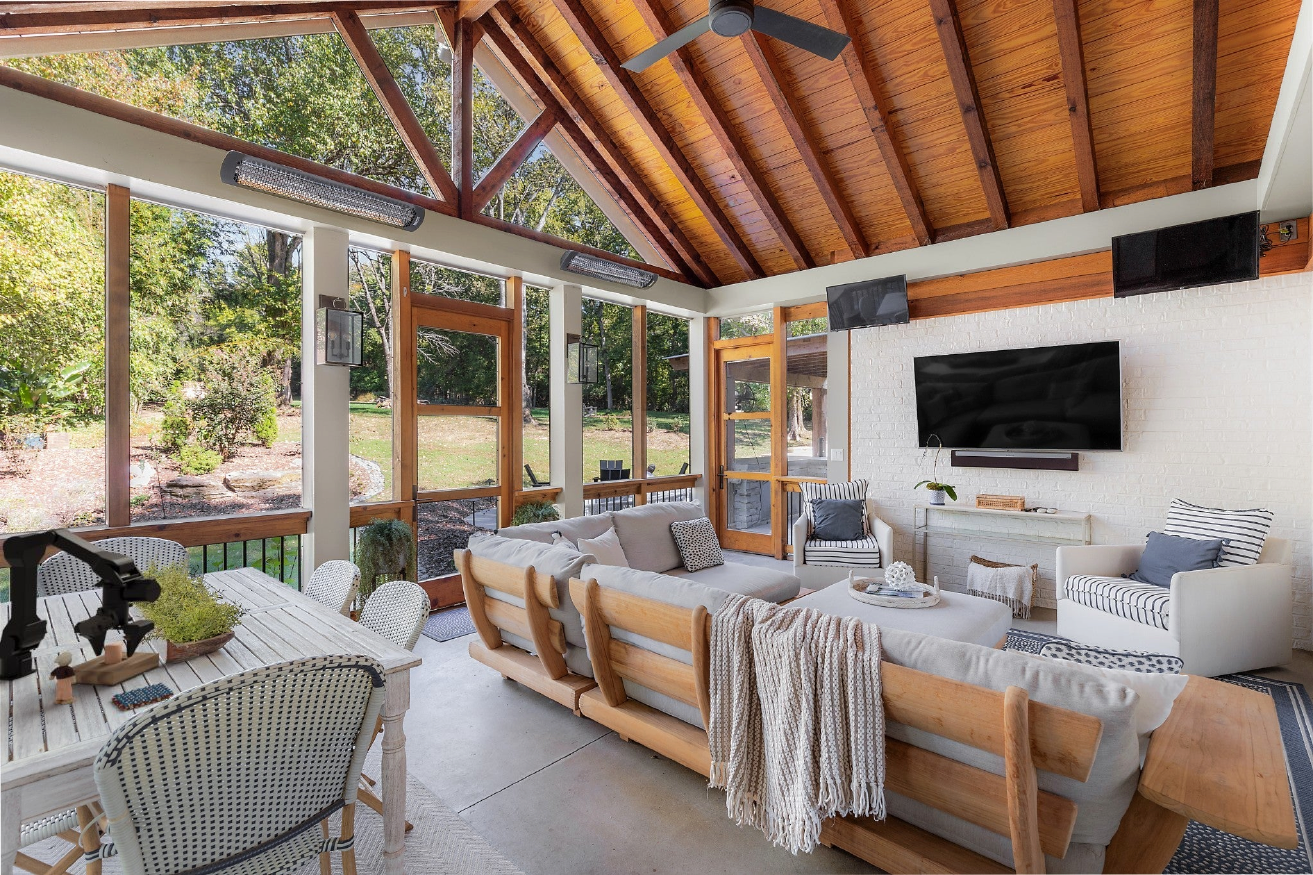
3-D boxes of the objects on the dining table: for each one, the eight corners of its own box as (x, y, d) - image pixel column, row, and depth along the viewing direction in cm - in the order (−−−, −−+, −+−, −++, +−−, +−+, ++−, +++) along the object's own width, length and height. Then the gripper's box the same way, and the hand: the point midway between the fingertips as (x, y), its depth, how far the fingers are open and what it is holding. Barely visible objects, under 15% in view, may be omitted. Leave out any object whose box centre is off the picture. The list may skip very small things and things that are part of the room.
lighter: (197, 654, 184) (198, 622, 184) (200, 657, 182) (201, 625, 182) (164, 661, 178) (165, 628, 178) (167, 664, 176) (168, 631, 176)
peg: (112, 670, 169) (113, 642, 169) (124, 670, 169) (125, 642, 169) (100, 675, 165) (101, 646, 165) (112, 675, 165) (113, 647, 165)
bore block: (64, 684, 160) (64, 669, 160) (113, 664, 174) (113, 651, 174) (113, 686, 160) (113, 671, 160) (158, 666, 174) (159, 653, 174)
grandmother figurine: (85, 698, 153) (87, 649, 153) (71, 705, 149) (72, 655, 149) (55, 697, 152) (56, 649, 152) (39, 704, 149) (41, 654, 149)
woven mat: (109, 702, 152) (109, 694, 152) (161, 688, 161) (161, 681, 161) (121, 714, 146) (122, 705, 146) (174, 699, 155) (175, 691, 155)
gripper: (54, 608, 160) (52, 666, 159) (120, 611, 159) (118, 669, 159) (95, 597, 171) (93, 651, 171) (156, 600, 170) (155, 654, 170)
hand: (114, 656), depth 167 cm, fingers open, 9 cm apart
